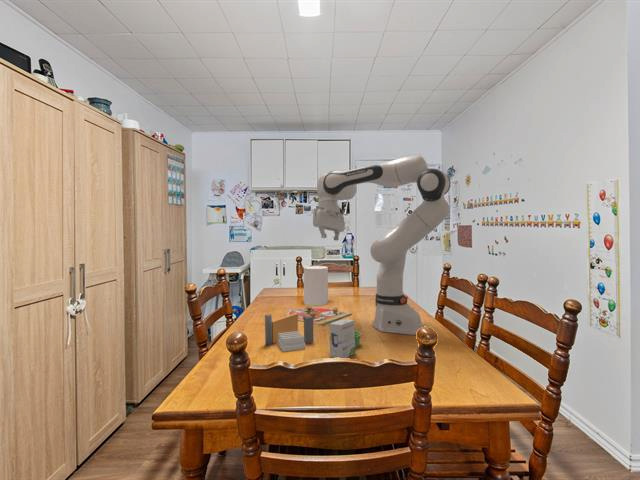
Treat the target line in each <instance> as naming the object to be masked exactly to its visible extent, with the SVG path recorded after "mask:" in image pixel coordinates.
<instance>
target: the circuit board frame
mask: <svg viewBox="0 0 640 480" xmlns="http://www.w3.org/2000/svg"><path fill="white" fill-rule="evenodd" d="M272 316H273V315H272V314H265V315H264V335H265V338H264V339H265V340H264V343H265V344H264V345H265V346H266V347H267V346H269V347H270V346H272V345H273V343H272V320H273V319H272V318H273V317H272ZM303 319H304V322H303V334H302V333H301V332H299V330H298V331H295V332H286V333H278V342H277V346H278V347H279V349H280V350H281V352H283V353H284V352H294V351H300V350H306V344H311V343H314V324H313V317H312V316H303Z"/></svg>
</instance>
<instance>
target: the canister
mask: <svg viewBox="0 0 640 480" xmlns="http://www.w3.org/2000/svg"><path fill="white" fill-rule="evenodd" d="M303 304H304V305H306V306H312V307H313V306H316V307H317V306H325V305H328V304H329V268H328V266H325V265H307V266H303Z"/></svg>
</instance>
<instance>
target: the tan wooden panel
mask: <svg viewBox="0 0 640 480" xmlns="http://www.w3.org/2000/svg"><path fill="white" fill-rule="evenodd" d="M295 331H299V321H298V314H296V313H294V314H291V315H288V316H286V315H285V316H283V317H279V318H276V319H272V345H273V344H277V343H278V333H286V332H295Z"/></svg>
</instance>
